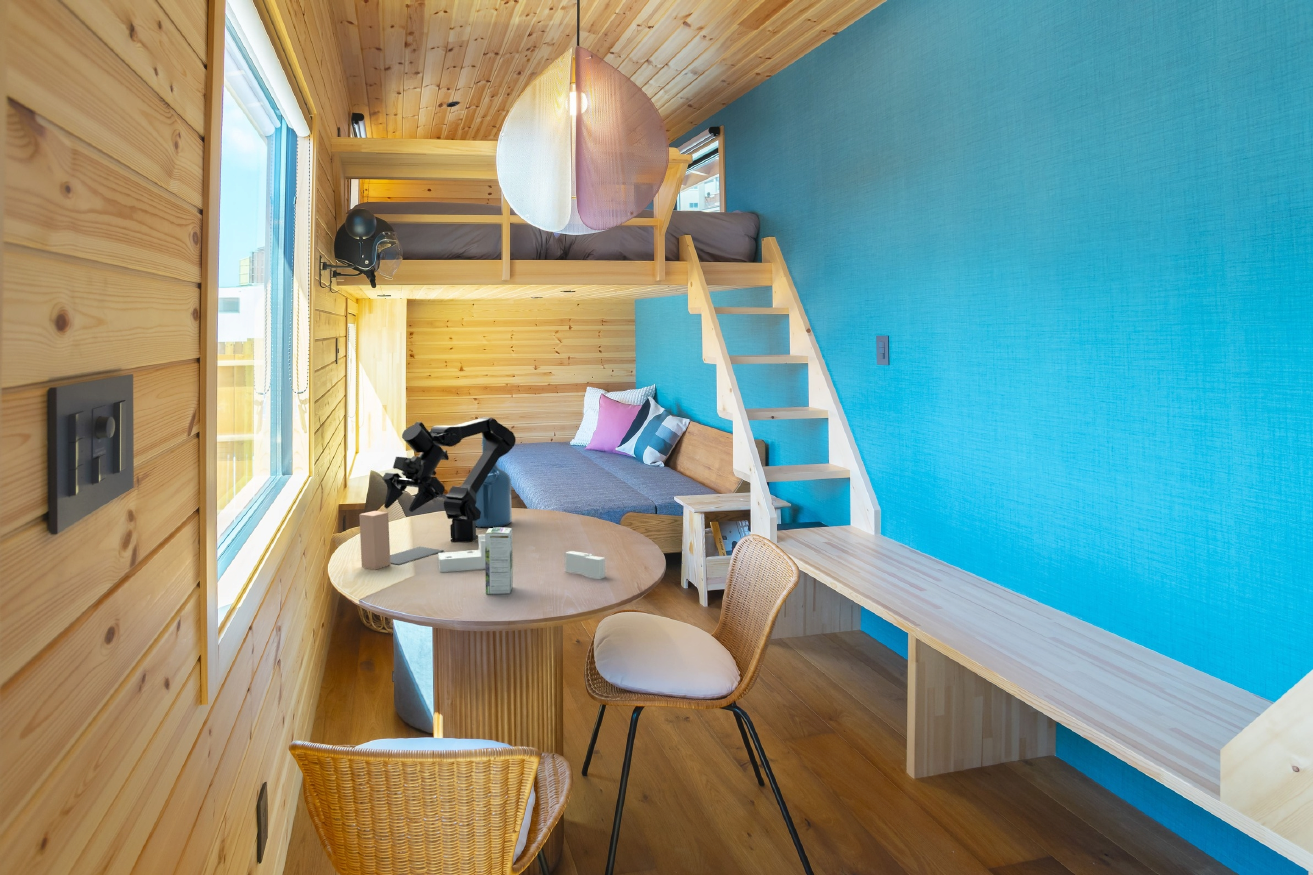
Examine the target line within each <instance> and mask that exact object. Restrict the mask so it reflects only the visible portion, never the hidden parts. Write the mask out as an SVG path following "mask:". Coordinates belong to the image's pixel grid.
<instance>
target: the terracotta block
mask: <svg viewBox="0 0 1313 875" xmlns="http://www.w3.org/2000/svg"><path fill="white" fill-rule="evenodd" d="M358 515H359V516H358V517H359V535H360V536H359V537H360V553H361V554H360V555H361V556H360V557H361V558H360V559H361V568H364V569H370V570H374V571H375V570H379V569H383V568H385V566H386V567H389V566H391V564H390V555H391V551H390V550H391V547H390V524H389V523H390V522H389V521H390V520H389V512H386V511H378V510H372V511H368V512H367V511H366V512H363V513H360V514H358ZM388 565H389V566H388ZM382 567H383V568H382Z"/></svg>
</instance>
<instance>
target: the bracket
mask: <svg viewBox="0 0 1313 875" xmlns="http://www.w3.org/2000/svg"><path fill="white" fill-rule="evenodd" d="M477 538H478V539H477V540H478V549H474V550H459V551H448V552H447V551H445V552H440V553H437V556H438V557H437V558H438V559H437V560H438V569H439V570H438V571H439V573H447V572H449V573H450V572H460V571H473V570H483V569H485V534H478V537H477Z"/></svg>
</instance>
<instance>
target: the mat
mask: <svg viewBox="0 0 1313 875" xmlns="http://www.w3.org/2000/svg"><path fill="white" fill-rule="evenodd" d="M438 553H444V549H438V548H432V547H425V546H417V547H413V548H410V549H406V550H404V551H400V552H397V553H396V552H395V553H392V554H390V565H395V564H397V565H396V566H401V565H404V564H407V563H410V562H409V561H411V562H414V561H417V560H420V559H423V558H425V557H426V556H427V557H429V555H430V556H433V555H436V554H437V555H438ZM416 559H417V560H416ZM413 560H414V561H413ZM400 564H401V565H400Z"/></svg>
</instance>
